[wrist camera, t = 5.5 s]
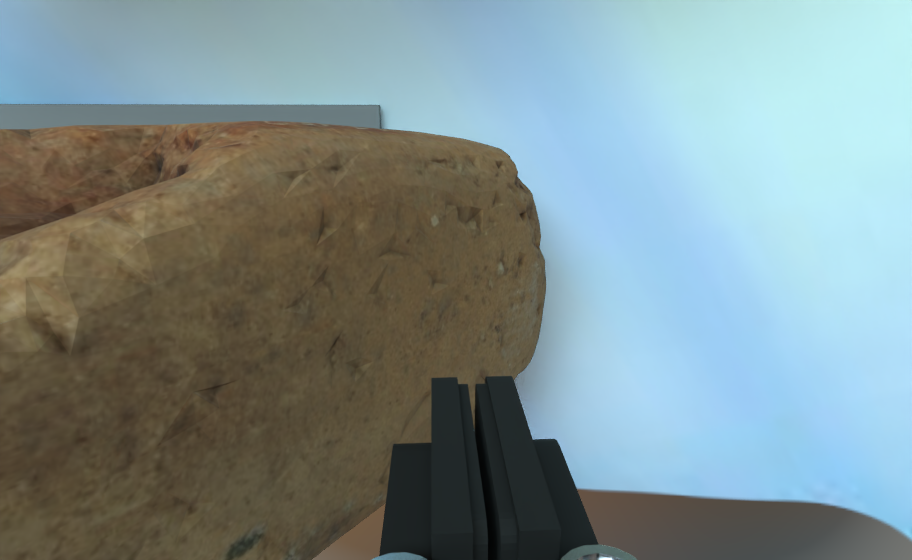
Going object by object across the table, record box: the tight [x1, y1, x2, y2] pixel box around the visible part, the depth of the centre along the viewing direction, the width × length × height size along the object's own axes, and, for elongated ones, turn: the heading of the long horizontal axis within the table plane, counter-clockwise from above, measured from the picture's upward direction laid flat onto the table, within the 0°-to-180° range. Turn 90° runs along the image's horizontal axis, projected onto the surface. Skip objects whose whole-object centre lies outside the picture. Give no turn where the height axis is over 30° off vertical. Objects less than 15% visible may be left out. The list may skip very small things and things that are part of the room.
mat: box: [0, 104, 381, 129], centre depth 23 cm, size 18×12×1 cm, turn 90°
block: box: [0, 121, 546, 560], centre depth 14 cm, size 11×8×20 cm
